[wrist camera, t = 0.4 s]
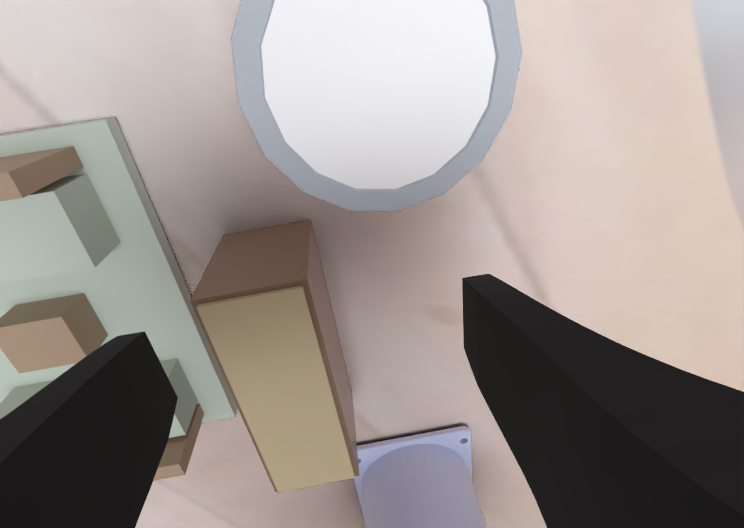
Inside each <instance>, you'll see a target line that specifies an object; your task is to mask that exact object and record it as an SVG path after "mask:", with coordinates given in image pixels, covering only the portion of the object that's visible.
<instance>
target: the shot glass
mask: <svg viewBox="0 0 744 528" xmlns="http://www.w3.org/2000/svg"><path fill="white" fill-rule="evenodd" d="M231 42H232V51H233V61H234V70H235V80H236V89H237V98H238V104H239V106H240V108H241V110H242V112H243V114H244V116H245V118H246V120H247V122H248V124H249V126H250V128H251V130H252V132H253V134H254V136H255V138H256V140H257V142H258V144H259V146H260V148H261V150H262V152H263V154H264V156H265V157H266V158H267V159H268V160H269V161H270V162H271V163H273V164H274V165H275V166H276V167H277V168H278V169H279V170H280V171H281V172H282V173H283V174H284V175H286V176H287V177H288V178H289V179H290V180H291V181H292V182H293V183H294V184H295V185H296V186H297V187H298V188H300V189H301V190H302V191H303V192H304V193H306V194H309V195H311V196H314V197H316V198H319V199H321V200H324V201H326V202H329V203H331V204H334V205H336V206H339V207H341V208H344V209H347V210H349V211H400V210H403V209H405V208H408V207H411V206H413V205H416V204H418V203H421V202H424V201H426V200H429V199H431V198H434V197H437V196H439V195H442V194H444V193H445V192H446V191H448V190H449V189H450V188H451V187H452V186H453V185H455V184H456V183H457V182H458V181H459V180H460V179H461V178H463V177H464V176H465V175H466V174H467V173H468V172H469V171H471V170H472V169H473V168H474V167H475V166H476V165H477V164H479V163H480V162H481V161H482V160H483V159H484V157H485V155H486V153H487V152H488V150H489V148H490V146H491V145H492V143H493V141H494V139H495V138H496V136H497V134H498V132H499V131H500V129H501V127H502V126H503V124H504V122H505V120H506V119H507V117H508V115H509V113H510V112H511V107H512V101H513V96H514V91H515V86H516V81H517V76H518V70H519V65H520V60H521V55H522V49H521V42H520V35H519V29H518V22H517V16H516V9H515V2H514V0H241V3H240V7H239V10H238V14H237V18H236V21H235V25H234V29H233V32H232V36H231Z"/></svg>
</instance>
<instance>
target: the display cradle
mask: <svg viewBox="0 0 744 528" xmlns="http://www.w3.org/2000/svg"><path fill="white" fill-rule="evenodd" d="M191 298H192V297H191V294H190V292H189V290H188V287H187V285H186V282H185V280H184V278H183V275H182V273H181V271H180V268H179V266H178V264H177V261H176V259H175V257H174V254H173V252H172V249H171V247H170V245H169V242H168V240H167V238H166V235H165V233H164V231H163V228H162V226H161V224H160V221H159V219H158V216H157V214H156V212H155V209H154V207H153V205H152V202H151V200H150V198H149V195H148V193H147V190H146V188H145V186H144V183H143V181H142V179H141V176H140V174H139V172H138V169H137V167H136V165H135V162H134V160H133V157H132V155H131V153H130V150H129V148H128V146H127V143H126V141H125V139H124V136H123V134H122V132H121V129H120V127H119V124H118V122H117V120H116V117H110V118H103V119H97V120H90V121H84V122H78V123H71V124H65V125H58V126H52V127H46V128H39V129H33V130H26V131H20V132H14V133H7V134H1V135H0V419H1V418H3V417H4V416H6V415H7V414H8V413H10V412H11V411H13V410H14V409H15V408H17V407H18V406H20V405H21V404H22V403H24V402H25V401H26V400H28V399H29V398H30V397H32V396H33V395H34V394H36V393H37V392H39V391H40V390H41V389H43V388H44V387H45V386H47V385H48V384H49V383H51V382H52V381H53V380H55V379H56V378H57V377H59V376H60V375H61V374H63V373H64V372H66V371H67V370H68V369H70V368H71V367H72V366H74V365H75V364H76V363H78V362H79V361H81V360H82V359H83V358H85V357H86V356H87V355H89V354H90V353H92V352H93V351H95V350H96V349H97V348H99V347H100V346H102V345H103V344H105V343H106V342H108V341H110V340H111V339H113V338H115V337H116V336H120V335H126V334H132V333H138V332H144V331H145V333H146V335H147V337H148V339H149V341H150V343H151V345H152V347H153V349H154V351H155V353H156V355H157V357H158V359H159V361H160V363H161V365H162V367H163V369H164V371H165V373H166V375H167V377H168V379H169V381H170V383H171V385H172V387H173V389H174V391H175V393H176V395H177V397H178V399H177V404H176V409H175V413H174V418H173V422H172V426H171V430H170V434H169V438H168V442H167V445H166V447H165V450H164V453H163V456H162V458H161V461H160V464H159V466H158V469H157V472H156V474H155V477H154V479H153V481H154V480H159V479H164V478H170V477H175V476H180V475H185V473H186V470H187V467H188V464H189V461H190V457H191V454H192V451H193V448H194V445H195V442H196V438H197V435H198V432H199V429H200V426H201V423H207V422H212V421H218V420H223V419H229V418H234V417H236V412H237V408H238V407H237V405H236V402H235V400H234V398H233V396H232V394H231V391H230V389H229V387H228V385H227V382H226V380H225V378H224V376H223V373H222V371H221V369H220V367H219V365H218V362H217V360H216V358H215V356H214V353H213V351H212V349H211V347H210V344H209V342H208V340H207V338H206V335H205V333H204V331H203V329H202V327H201V324H200V322H199V320H198V318H197V315H196V313H195V311H194V309H193V306H192V304H191V302H190V300H191Z"/></svg>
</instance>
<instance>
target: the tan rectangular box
mask: <svg viewBox="0 0 744 528" xmlns="http://www.w3.org/2000/svg"><path fill="white" fill-rule="evenodd" d="M190 302H191V304H192V306H193V309H194V311H195V313H196V315H197V318H198V320H199V322H200V324H201V327H202V329H203V331H204V333H205V335H206V338H207V340H208V342H209V344H210V347H211V349H212V351H213V353H214V356H215V358H216V360H217V362H218V365H219V367H220V369H221V371H222V373H223V376H224V378H225V380H226V382H227V385H228V387H229V389H230V391H231V394H232V396H233V398H234V400H235V402H236V405H237V407H238V409H239V411H240V414H241V416H242V418H243V420H244V423H245V425H246V427H247V429H248V432H249V434H250V436H251V438H252V440H253V443H254V445H255V447H256V449H257V452H258V454H259V456H260V458H261V461H262V463H263V465H264V467H265V470H266V472H267V474H268V476H269V478H270V481H271V483H272V485H273V487H274V490H275V492H278V493H281V492H286V491H291V490H296V489H301V488H306V487H311V486H316V485H321V484H326V483H331V482H336V481H341V480H346V479H351V478H355V476H360V475H359V464H358V453H357V442H356V431H355V420H354V409H353V398H352V389H351V385H350V381H349V377H348V373H347V369H346V364H345V360H344V356H343V352H342V348H341V344H340V339H339V335H338V331H337V327H336V323H335V319H334V314H333V310H332V306H331V302H330V298H329V294H328V289H327V285H326V281H325V277H324V273H323V269H322V264H321V260H320V256H319V252H318V248H317V244H316V239H315V235H314V231H313V227H312V223H311V219H310V220H305V221H299V222H294V223H288V224H283V225H277V226H272V227H266V228H261V229H255V230H250V231H244V232H239V233H233V234H227V235H223V237H222V239H221V241H220V243H219V245H218V247H217V249H216V251H215V253H214V255H213V257H212V259H211V261H210V263H209V265H208V266H207V268H206V270H205V272H204V274H203V276H202V278H201V280H200V282H199V284H198V286H197V288H196V290H195V292H194V294H193V296H192V298H191V300H190Z"/></svg>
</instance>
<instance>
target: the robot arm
mask: <svg viewBox="0 0 744 528" xmlns="http://www.w3.org/2000/svg"><path fill="white" fill-rule="evenodd" d="M462 280H463V326H464V349H465V352H466V355H467V358H468V360H469V363H470V366H471V369H472V371H473V374H474V377H475V379H476V382H477V385H478V387H479V389H480V391H481V393H482V395H483V397H484V399H485V401H486V403H487V405H488V406H489V408H490V410H491V412H492V414H493V416H494V418H495V420H496V422H497V424H498V426H499V428H500V430H501V432H502V433H503V435H504V437H505V439H506V441H507V443H508V445H509V447H510V449H511V451H512V453H513V455H514V456H515V458H516V460H517V462H518V464H519V466H520V468H521V470H522V472H523V474H524V476H525V478H526V480H527V482H528V484H529V486H530V488H531V490H532V493H533V495H534V497H535V499H536V501H537V504H538V506H539V509H540V511H541V514H542V516H543V519H544V521H545V523H546V526H547V528H744V392H742V391H739V390H736V389H734V388H731V387H728V386H725V385H722V384H719V383H716V382H713V381H710V380H707V379H705V378H702V377H699V376H697V375H694V374H691V373H689V372H686V371H683V370H681V369H678V368H676V367H673V366H671V365H668V364H666V363H663V362H661V361H659V360H656V359H654V358H651V357H649V356H646V355H644V354H641V353H639V352H637V351H634V350H632V349H630V348H628V347H625V346H623V345H621V344H619V343H617V342H614V341H612V340H610V339H608V338H606V337H604V336H602V335H600V334H598V333H596V332H594V331H592V330H590V329H588V328H586V327H584V326H582V325H580V324H578V323H576V322H574V321H572V320H570V319H568V318H567V317H565V316H563V315H561V314H559V313H557V312H555V311H554V310H552V309H550V308H548V307H546V306H545V305H543V304H541V303H539V302H538V301H536V300H534V299H532V298H531V297H529V296H527V295H525V294H524V293H522V292H520V291H519V290H517V289H515V288H513V287H512V286H510V285H508V284H507V283H505V282H503V281H501V280H500V279H498V278H496V277H494V276H492V275H490V274H484V275H478V276H472V277H466V278H462ZM177 399H178V397H177V395H176V393H175V391H174V389H173V387H172V385H171V383H170V381H169V379H168V377H167V375H166V373H165V371H164V369H163V367H162V365H161V363H160V361H159V359H158V357H157V355H156V353H155V351H154V349H153V347H152V345H151V343H150V341H149V339H148V337H147V335H146V333H145V331H144V332H138V333H132V334H126V335H120V336H116V337H115V338H113V339H111V340H110V341H108V342H106V343H105V344H103V345H102V346H100V347H99V348H97V349H96V350H95V351H93V352H92V353H90V354H89V355H87V356H86V357H85V358H83V359H82V360H81V361H79V362H78V363H76V364H75V365H74V366H72V367H71V368H70V369H68V370H67V371H66V372H64V373H63V374H61V375H60V376H59V377H57V378H56V379H55V380H53V381H52V382H51V383H49V384H48V385H47V386H45V387H44V388H43V389H41V390H40V391H39V392H37V393H36V394H34V395H33V396H32V397H30V398H29V399H28V400H26V401H25V402H24V403H22V404H21V405H20V406H18V407H17V408H15V409H14V410H13V411H11V412H10V413H8V414H7V415H6V416H4V417H3V418H1V419H0V528H135V526H136V523H137V521H138V518H139V516H140V513H141V510H142V508H143V505H144V503H145V500H146V498H147V495H148V492H149V490H150V487H151V485H152V482H153V479H154V477H155V474H156V472H157V469H158V466H159V464H160V461H161V458H162V456H163V453H164V450H165V447H166V445H167V442H168V438H169V434H170V430H171V426H172V422H173V418H174V413H175V409H176V404H177ZM357 453H358V464H359V475H360V476H355V478H354V482H355V486H356V490H357V494H358V498H359V502H360V506H361V510H362V514H363V518H364V521H365V525H366V528H487V525H486V522H485V519H484V516H483V513H482V511H481V508H480V505H479V502H478V499H477V496H476V493H475V490H474V488H473V485H472V455H471V432H470V430H469V428H468V427H466V426H460V427H454V428H449V429H444V430H438V431H433V432H428V433H422V434H417V435H412V436H406V437H401V438H396V439H390V440H385V441H380V442H374V443H369V444H364V445H358V446H357Z"/></svg>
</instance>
